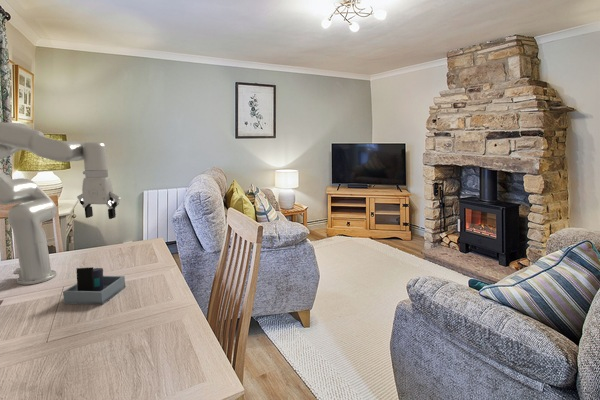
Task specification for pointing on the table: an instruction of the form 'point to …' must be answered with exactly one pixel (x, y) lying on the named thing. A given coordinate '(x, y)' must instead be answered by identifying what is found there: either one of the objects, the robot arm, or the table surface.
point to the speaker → (90, 279)
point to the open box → (95, 292)
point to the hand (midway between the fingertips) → (100, 217)
